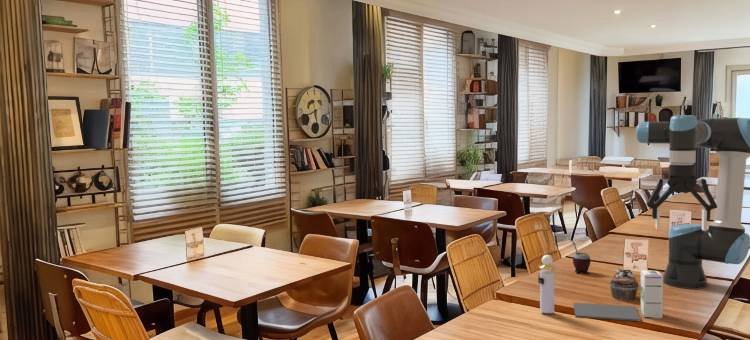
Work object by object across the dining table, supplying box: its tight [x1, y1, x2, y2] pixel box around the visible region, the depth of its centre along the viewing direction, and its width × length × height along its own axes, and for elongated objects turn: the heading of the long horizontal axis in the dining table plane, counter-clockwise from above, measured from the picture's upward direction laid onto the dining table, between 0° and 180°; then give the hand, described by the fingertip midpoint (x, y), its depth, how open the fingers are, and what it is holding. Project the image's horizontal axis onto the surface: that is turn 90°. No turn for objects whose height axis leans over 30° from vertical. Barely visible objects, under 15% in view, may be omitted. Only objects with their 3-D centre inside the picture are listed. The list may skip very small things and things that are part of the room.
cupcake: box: [609, 269, 640, 302], centre depth 215 cm, size 10×10×10 cm
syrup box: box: [640, 269, 664, 319], centre depth 195 cm, size 6×6×14 cm
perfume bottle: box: [537, 254, 557, 314], centre depth 199 cm, size 6×6×20 cm
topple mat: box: [572, 302, 642, 322], centre depth 199 cm, size 20×14×1 cm
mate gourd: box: [567, 237, 591, 275], centre depth 250 cm, size 8×8×15 cm
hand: (680, 229), depth 191 cm, fingers open, 13 cm apart
